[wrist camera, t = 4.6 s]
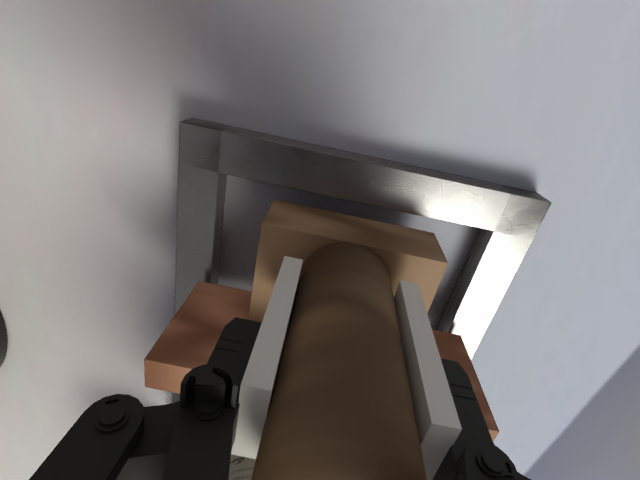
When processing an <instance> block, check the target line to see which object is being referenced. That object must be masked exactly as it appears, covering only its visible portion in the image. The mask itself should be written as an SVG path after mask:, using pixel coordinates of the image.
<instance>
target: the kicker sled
mask: <svg viewBox="0 0 640 480" xmlns="http://www.w3.org/2000/svg"><path fill="white" fill-rule="evenodd" d="M284 256H288V257H293V258H297V259H302V260H303V262H302V267H301V272H300V277H299V282H298V286H297V291H296V295H295V299H294V303H293V308H292V312H291V316H290V320H289V324H288V329H287V333H286V337H285V341H284V346H283V350H282V354H281V358H280V362H279V367H278V371H277V375H276V379H275V384H274V388H273V392H272V396H271V400H270V405H269V409H268V413H267V417H266V421H265V424H264V428H263V432H262V436H261V440H260V444H259V449H258V453H257V457H256V461H255V465H254V470H253V474H252V478H251V480H427V478H426V472H425V467H424V461H423V456H422V450H421V445H420V439H419V434H418V428H417V423H416V417H415V412H414V406H413V401H412V395H411V390H410V384H409V379H408V373H407V368H406V362H405V357H404V351H403V346H402V340H401V335H400V329H399V324H398V318H397V312H396V307H395V301H394V296H395V293H396V290H397V287H398V284H399V281H400V280H402V281H407V282H412V283H417V284H418V285H419V288H420V292H421V295H422V298H423V302H424V305H425V308H426V311H427V314H428V311H429V309H430V306H431V304H432V301H433V299H434V297H435V294H436V292H437V289H438V287H439V284H440V282H441V279H442V277H443V275H444V272H445V270H446V267H447V265H448V262H447V260H446V258H445V256H444V253H443V251H442V249H441V247H440V245H439V243H438V241H437V239H436V237H435V235H434V233H430V232H426V231H421V230H416V229H412V228H407V227H402V226H398V225H393V224H388V223H384V222H379V221H374V220H370V219H365V218H360V217H356V216H351V215H346V214H341V213H337V212H332V211H327V210H323V209H318V208H313V207H309V206H304V205H299V204H295V203H290V202H285V201H281V200H276V199H275V200H274V201H273V203H272V205H271V207H270V209H269V211H268V212H267V214H266V216H265V218H264V220H263V221H262V223H261V230H260V237H259V244H258V251H257V259H256V266H255V273H254V280H253V288H252V292H250V291H245V290H240V289H235V288H230V287H226V286H221V285H216V284H211V283H206V282H202V281H198V283H197V284H196V286H195V287H194V288H193V290H192V291H191V293H190V294H189V296H188V297H187V299H186V300H185V301H184V303H183V304H182V306H181V307H180V309H179V310H178V312H177V313H176V314H175V316H174V317H173V319H172V320H171V322H170V323H169V325H168V326H167V327H166V329H165V330H164V332H163V333H162V335H161V336H160V338H159V339H158V340H157V342H156V343H155V345H154V346H153V348H152V349H151V351H150V352H149V353H148V355H147V356H146V358H145V359H144V365H145V387H149V388H154V389H159V390H164V391H169V392H174V393H179V394H180V386H181V382H182V380H183V378H184V376H185V375H186V374H187V373H188V372H189V371H191V370H192V369H193V368H196V367H198V366H201V365H204V364H207V362H208V360H209V358H210V356H211V354H212V352H213V350H214V348H215V345H216V343H217V341H218V340H219V337H220V335H221V333H222V331H223V329H224V326H225V325H226V324H228V323H229V322H230V321H231V320H233V319H234V318H235V317H238V318H243V319H248V320H252V321H257V322H262V321H263V318H264V315H265V312H266V309H267V306H268V303H269V300H270V297H271V294H272V291H273V288H274V286H275V283H276V280H277V277H278V274H279V271H280V268H281V265H282V262H283V259H284ZM432 331H433V335H434V338H435V341H436V345H437V348H438V351H439V355H440V358H442V359H447V360H452V361H456V362H458V363H459V364H460V365H461V367H462V368H463V369H464V370H465V372H466V373H467V374H468V376H469V379H470V382H471V384H472V387H473V391H474V392H475V395H476V398H477V402H478V403H479V406H480V408H481V411H482V414H483V417H484V419H485V422H486V425H487V427H488V430H489V433H490V435H491V438H492V441H494V439H495V438H496V436H497V434H498V433H499V430H498V427H497V425H496V422H495V420H494V417H493V415H492V412H491V410H490V407H489V405H488V402H487V400H486V397H485V395H484V392H483V390H482V387H481V385H480V382H479V380H478V377H477V375H476V372H475V370H474V367H473V365H472V362H471V360H470V357H469V355H468V352H467V350H466V347H465V345H464V342H463V340H462V337H461V335H456V334H451V333H446V332H442V331H437V330H432Z"/></svg>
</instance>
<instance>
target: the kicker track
mask: <svg viewBox="0 0 640 480" xmlns="http://www.w3.org/2000/svg"><path fill="white" fill-rule="evenodd" d="M227 174H229V175H233V176H238V177H243V178H247V179H252V180H257V181H261V182H266V183H271V184H275V185H280V186H285V187H289V188H294V189H299V190H303V191H308V192H313V193H317V194H322V195H327V196H331V197H336V198H341V199H345V200H350V201H355V202H359V203H364V204H369V205H373V206H378V207H383V208H387V209H392V210H397V211H401V212H406V213H411V214H415V215H420V216H425V217H429V218H434V219H439V220H443V221H448V222H453V223H457V224H462V225H467V226H471V227H476V228H480V230H479V233H478V235H477V237H476V240H475V242H474V244H473V246H472V249H471V251H470V253H469V256H468V258H467V260H466V263H465V265H464V267H463V270H462V272H461V274H460V276H459V279H458V281H457V283H456V286H455V288H454V290H453V293H452V295H451V297H450V299H449V302H448V304H447V306H446V309H445V311H444V313H443V316H442V318H441V320H440V322H439V325H438V327H437V329H436V330H437V331H442V332H446V333H451V334H456V335H461V337H462V340H463V342H464V345H465V347H466V350H467V352H468V355H469V357H470V360H471V359H472V357H473V355H474V353H475V351H476V349H477V347H478V345H479V343H480V341H481V339H482V337H483V335H484V333H485V331H486V329H487V327H488V326H489V324H490V322H491V320H492V318H493V316H494V314H495V312H496V310H497V308H498V306H499V304H500V302H501V300H502V298H503V296H504V294H505V292H506V290H507V288H508V287H509V285H510V283H511V281H512V279H513V277H514V275H515V273H516V271H517V269H518V267H519V265H520V263H521V261H522V259H523V257H524V255H525V253H526V251H527V249H528V248H529V246H530V244H531V242H532V240H533V238H534V236H535V234H536V232H537V230H538V228H539V226H540V224H541V222H542V220H543V218H544V216H545V214H546V212H547V211H548V209H549V207H550V205H551V202H549V201H548V200H547V199H545V198H544V197H542V196H541V195H540V194H538V193H536V192H531V191H527V190H522V189H517V188H513V187H508V186H504V185H499V184H494V183H490V182H485V181H481V180H476V179H471V178H467V177H462V176H457V175H453V174H448V173H444V172H439V171H434V170H430V169H425V168H421V167H416V166H411V165H407V164H402V163H397V162H393V161H388V160H384V159H379V158H374V157H370V156H365V155H361V154H356V153H351V152H347V151H342V150H337V149H333V148H328V147H324V146H319V145H314V144H310V143H305V142H301V141H296V140H291V139H287V138H282V137H278V136H273V135H268V134H264V133H259V132H254V131H250V130H245V129H241V128H236V127H231V126H227V125H222V124H218V123H213V122H208V121H204V120H199V119H194V118H191V119H188V120H185V121H182V122H180V127H179V168H178V208H177V248H176V289H175V314H176V313H177V312H178V310H179V309H180V307H181V306H182V304H183V303H184V301H185V300H186V299H187V297H188V296H189V294H190V293H191V291H192V290H193V288H194V287H195V286H196V284H197V283H198V281H202V282H206V283H211V284H216V285H217V284H218V272H219V260H220V249H221V237H222V225H223V214H224V202H225V190H226V179H227ZM177 401H180V394H179V393H174V392H173V403H175V402H177Z"/></svg>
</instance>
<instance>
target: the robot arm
mask: <svg viewBox="0 0 640 480" xmlns="http://www.w3.org/2000/svg"><path fill="white" fill-rule="evenodd" d="M302 262H303V260H302V259H297V258H293V257H288V256H284V259H283V262H282V265H281V268H280V271H279V274H278V277H277V280H276V283H275V286H274V288H273V291H272V294H271V297H270V300H269V303H268V306H267V309H266V312H265V315H264V318H263V321H262V322H257V321H252V320H248V319H243V318H238V317H235V318H234V319H233V320H231V321H230V322H229V323H228V324H226V325H225V326H224V329H223V331H222V333H221V335H220V337H219V340H218V341H217V343H216V345H215V348H214V350H213V352H212V354H211V356H210V358H209V360H208V362H207V364H204V365H201V366H198V367H196V368H193V369H192V370H191V371H189V372H188V373H187V374H186V375H185V376H184V378H183V380H182V382H181V386H180V401H177V402H175V403H172V404H167V405H160V406H150V407H143V405H142V404H141V403H140V401H139V400H138V399H137V398H134V397H132V396H130V395H122V394H116V395H112V396H108V397H104V398H102V399H101V400H99V401H97V402H95V403H93V404H92V405H91V406H90V407H89V408H88V409H87V410H86V411H84V413H83V414H82V415H81V416H80V418H79V419H78V420H77V421H76V423H75V424H74V425H73V426H72V427H71V429H70V430H69V431H68V432H67V434H66V435H65V436H64V437H63V439H62V440H61V441H60V442H59V443H58V445H57V446H56V447H55V448H54V450H53V451H52V452H51V453H50V455H49V456H48V457H47V458H46V460H45V461H44V462H43V463H42V464H41V466H40V467H39V468H38V469H37V471H36V472H35V473H34V474H33V476H32V477H31V478H30V479H29V480H229V469H230V458H231V454H232V455H237V456H242V457H247V458H252V459H256V457H257V453H258V449H259V444H260V440H261V436H262V432H263V428H264V424H265V421H266V417H267V413H268V409H269V405H270V400H271V396H272V392H273V388H274V384H275V379H276V375H277V371H278V367H279V362H280V358H281V354H282V350H283V346H284V341H285V337H286V333H287V329H288V324H289V320H290V316H291V312H292V308H293V303H294V299H295V295H296V291H297V286H298V282H299V277H300V272H301V267H302ZM394 301H395V307H396V312H397V318H398V324H399V329H400V335H401V340H402V346H403V351H404V357H405V362H406V368H407V373H408V379H409V384H410V390H411V395H412V401H413V406H414V412H415V417H416V423H417V428H418V434H419V439H420V445H421V450H422V456H423V461H424V467H425V472H426V478H427V480H531V479H529V478H527V477H525V476H523V475H522V474H520V473H518V472H517V471H516V468H515V465H514V464H513V463H512V461H511V460H510V459H509V457H508V456H507V455H506V454H505V453H504V452H503V451H502V450H500V449H499V448H498V447H496V446H495V445H494V443H493V441H492V438H491V435H490V433H489V430H488V427H487V425H486V422H485V419H484V417H483V414H482V411H481V408H480V406H479V403H478V402H477V398H476V395H475V392H474V391H473V387H472V384H471V382H470V379H469V376H468V374H467V373H466V372H465V370H464V369H463V368H462V367H461V365H460V364H459V363H458V362H456V361H452V360H447V359H442V358H440V355H439V351H438V348H437V345H436V341H435V338H434V335H433V331H432V328H431V325H430V321H429V318H428V315H427V311H426V308H425V305H424V302H423V298H422V295H421V292H420V288H419V285H418V284H417V283H412V282H407V281H402V280H400V281H399V284H398V287H397V290H396V293H395V296H394ZM6 352H7V335H6V330H5V326H4V323H3V320H2V317H1V315H0V367H1V365H2V363H3V362H4V359H5V356H6ZM231 451H232V452H231Z"/></svg>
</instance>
